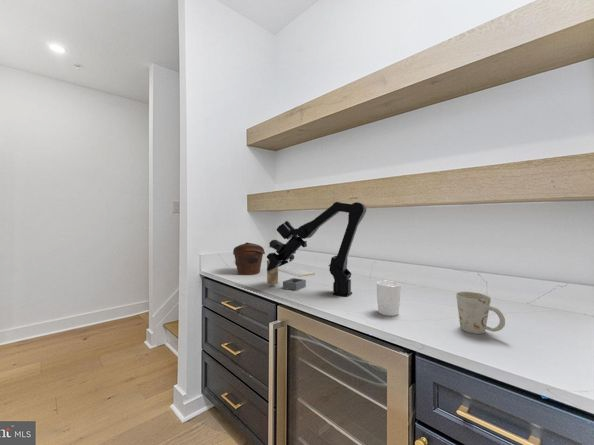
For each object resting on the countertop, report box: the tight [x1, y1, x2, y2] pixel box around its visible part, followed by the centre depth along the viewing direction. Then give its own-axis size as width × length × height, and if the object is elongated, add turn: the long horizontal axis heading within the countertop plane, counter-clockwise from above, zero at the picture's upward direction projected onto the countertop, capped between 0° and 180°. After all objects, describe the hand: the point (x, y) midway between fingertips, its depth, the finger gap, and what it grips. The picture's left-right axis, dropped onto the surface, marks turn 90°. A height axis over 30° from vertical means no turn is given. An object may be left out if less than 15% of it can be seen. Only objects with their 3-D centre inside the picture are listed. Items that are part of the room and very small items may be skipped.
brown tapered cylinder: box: [232, 242, 265, 276], centre depth 161 cm, size 18×20×18 cm
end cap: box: [282, 277, 307, 292], centre depth 127 cm, size 7×9×3 cm
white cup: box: [376, 280, 402, 317], centre depth 94 cm, size 8×8×10 cm
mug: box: [455, 291, 506, 335], centre depth 78 cm, size 8×13×10 cm, turn 28°
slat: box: [266, 260, 279, 286], centre depth 130 cm, size 3×4×11 cm, turn 148°
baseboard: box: [278, 265, 315, 278], centre depth 166 cm, size 31×3×12 cm
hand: (270, 269), depth 130 cm, fingers closed on slat, 5 cm apart
